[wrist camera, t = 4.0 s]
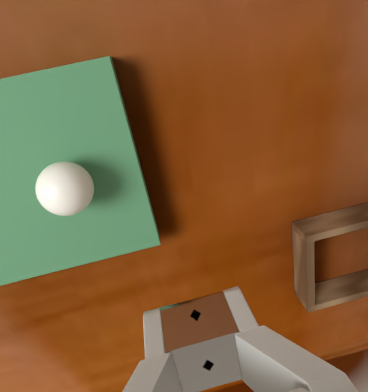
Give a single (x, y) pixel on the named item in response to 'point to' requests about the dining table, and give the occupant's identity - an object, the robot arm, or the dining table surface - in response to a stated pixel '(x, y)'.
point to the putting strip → (71, 152)
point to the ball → (64, 188)
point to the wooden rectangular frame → (305, 262)
